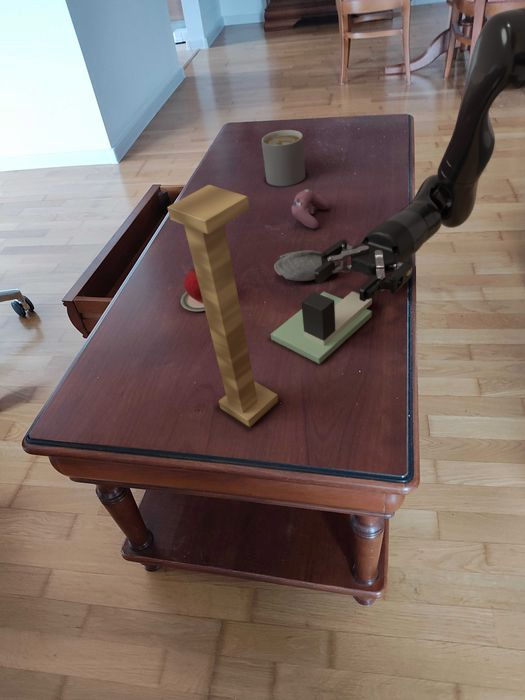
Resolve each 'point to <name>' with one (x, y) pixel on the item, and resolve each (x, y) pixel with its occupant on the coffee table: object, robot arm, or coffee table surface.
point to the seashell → (299, 265)
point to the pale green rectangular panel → (296, 341)
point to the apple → (192, 293)
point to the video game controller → (307, 207)
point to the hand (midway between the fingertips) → (338, 286)
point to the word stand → (222, 296)
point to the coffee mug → (283, 157)
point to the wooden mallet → (329, 315)
